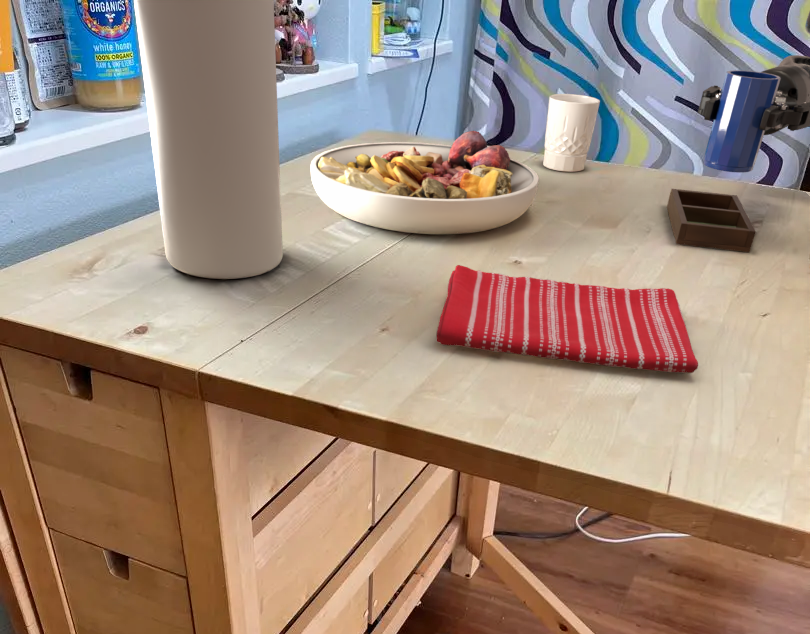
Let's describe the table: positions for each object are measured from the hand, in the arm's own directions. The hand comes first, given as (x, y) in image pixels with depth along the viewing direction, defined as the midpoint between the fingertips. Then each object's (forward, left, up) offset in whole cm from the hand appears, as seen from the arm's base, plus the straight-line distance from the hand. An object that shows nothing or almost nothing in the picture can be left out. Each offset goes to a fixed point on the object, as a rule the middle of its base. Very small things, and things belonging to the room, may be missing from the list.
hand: (736, 115), depth 95 cm
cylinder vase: (+54, +28, -15) cm, 62 cm away
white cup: (+19, -33, -15) cm, 41 cm away
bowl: (+37, -1, -15) cm, 40 cm away
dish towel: (+17, +35, -15) cm, 41 cm away
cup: (-1, -2, -6) cm, 6 cm away
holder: (-1, -6, -15) cm, 16 cm away
